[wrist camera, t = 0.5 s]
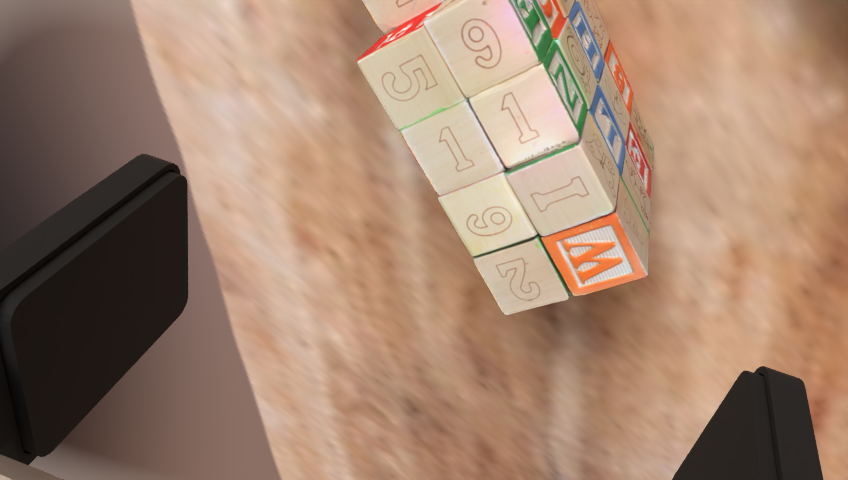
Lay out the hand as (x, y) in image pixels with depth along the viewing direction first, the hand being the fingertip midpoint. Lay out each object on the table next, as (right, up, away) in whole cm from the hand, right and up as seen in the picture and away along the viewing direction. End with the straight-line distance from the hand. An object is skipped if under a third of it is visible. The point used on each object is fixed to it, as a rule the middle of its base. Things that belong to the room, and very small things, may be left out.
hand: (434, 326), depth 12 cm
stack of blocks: (+4, +14, +23) cm, 27 cm away
